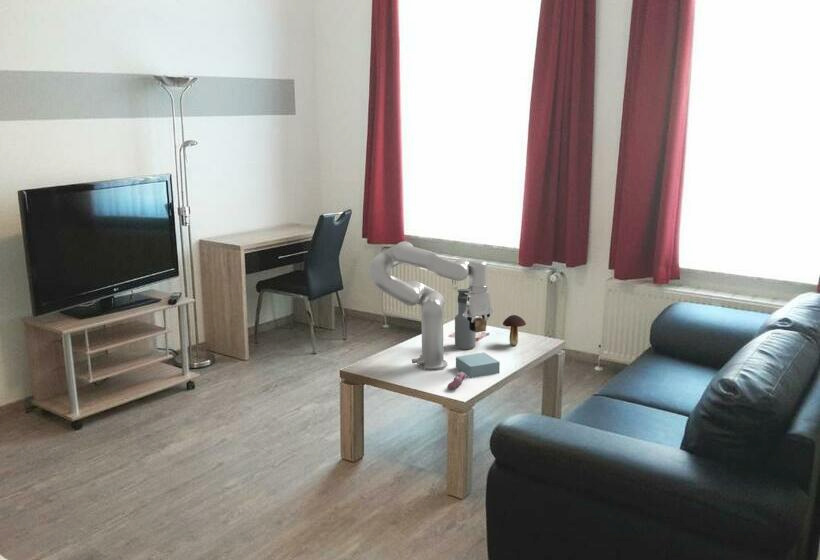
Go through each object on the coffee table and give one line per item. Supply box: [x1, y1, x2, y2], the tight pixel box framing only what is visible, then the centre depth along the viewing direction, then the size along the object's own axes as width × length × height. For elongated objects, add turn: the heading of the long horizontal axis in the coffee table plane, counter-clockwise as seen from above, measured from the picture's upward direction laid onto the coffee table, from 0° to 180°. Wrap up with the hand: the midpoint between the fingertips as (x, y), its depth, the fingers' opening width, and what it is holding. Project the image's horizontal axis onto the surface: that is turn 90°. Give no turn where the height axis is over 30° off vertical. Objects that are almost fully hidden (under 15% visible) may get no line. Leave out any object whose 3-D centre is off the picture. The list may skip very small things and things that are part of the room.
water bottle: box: [454, 288, 476, 350], centre depth 351 cm, size 10×10×28 cm
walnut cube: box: [474, 316, 487, 334], centre depth 322 cm, size 5×5×5 cm
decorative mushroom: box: [502, 314, 527, 346], centre depth 353 cm, size 11×11×15 cm
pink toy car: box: [446, 371, 467, 390], centre depth 304 cm, size 10×5×7 cm, turn 159°
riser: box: [455, 352, 501, 379], centre depth 322 cm, size 14×14×5 cm
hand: (477, 329), depth 323 cm, fingers closed on walnut cube, 4 cm apart
